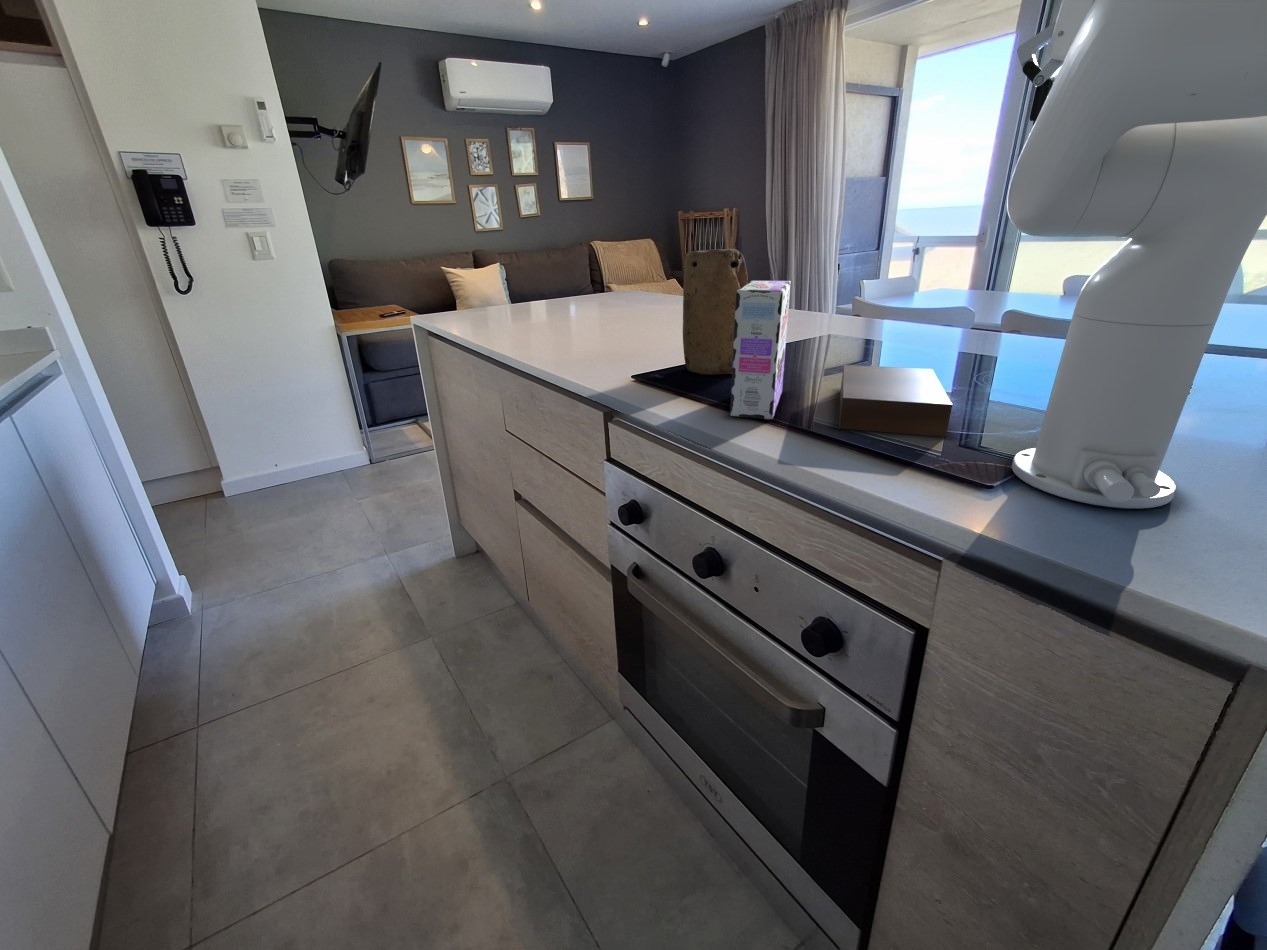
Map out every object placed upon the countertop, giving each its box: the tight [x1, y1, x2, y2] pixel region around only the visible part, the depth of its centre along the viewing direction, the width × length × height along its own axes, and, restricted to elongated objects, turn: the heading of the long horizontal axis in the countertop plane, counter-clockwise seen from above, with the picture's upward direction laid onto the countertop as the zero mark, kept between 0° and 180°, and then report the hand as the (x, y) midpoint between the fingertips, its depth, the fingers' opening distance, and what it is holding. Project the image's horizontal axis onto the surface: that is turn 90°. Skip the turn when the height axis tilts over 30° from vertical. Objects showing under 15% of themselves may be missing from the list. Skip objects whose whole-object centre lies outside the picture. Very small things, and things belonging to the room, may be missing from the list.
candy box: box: [729, 280, 792, 420], centre depth 78 cm, size 14×6×16 cm, turn 161°
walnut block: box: [838, 364, 953, 438], centre depth 76 cm, size 18×12×4 cm, turn 161°
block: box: [682, 248, 749, 376], centre depth 96 cm, size 11×8×20 cm
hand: (1090, 121), depth 63 cm, fingers open, 9 cm apart
